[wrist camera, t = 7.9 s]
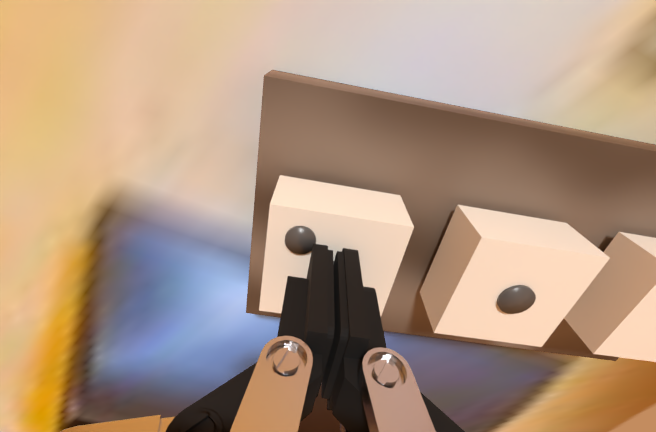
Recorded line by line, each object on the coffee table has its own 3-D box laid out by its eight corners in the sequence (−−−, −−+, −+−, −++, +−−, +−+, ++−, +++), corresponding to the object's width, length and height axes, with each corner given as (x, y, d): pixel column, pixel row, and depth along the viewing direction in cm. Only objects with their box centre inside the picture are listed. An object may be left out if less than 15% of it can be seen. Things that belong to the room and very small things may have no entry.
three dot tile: (279, 175, 13) (269, 206, 11) (400, 195, 13) (415, 229, 11) (269, 271, 15) (258, 313, 13) (370, 285, 16) (377, 329, 13)
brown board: (272, 69, 13) (264, 75, 11) (740, 161, 15) (793, 178, 13) (253, 287, 19) (246, 312, 17) (592, 333, 21) (615, 360, 19)
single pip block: (457, 204, 14) (483, 240, 11) (566, 222, 14) (613, 260, 12) (419, 292, 16) (434, 335, 14) (513, 305, 16) (543, 350, 14)
